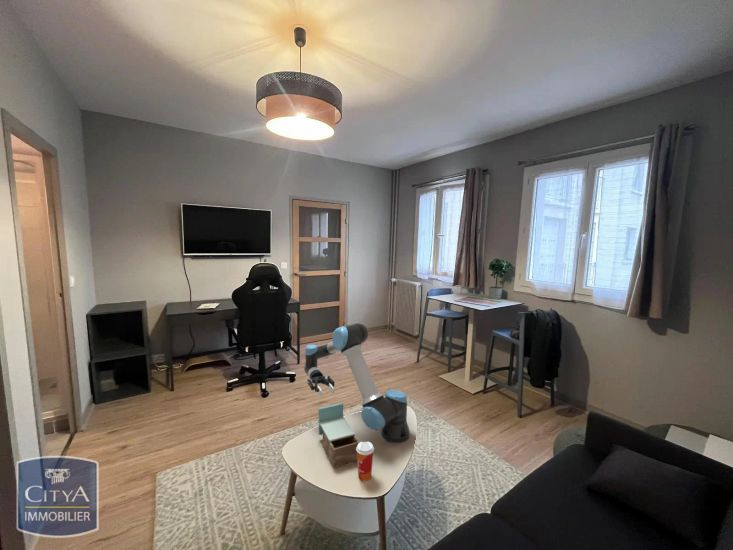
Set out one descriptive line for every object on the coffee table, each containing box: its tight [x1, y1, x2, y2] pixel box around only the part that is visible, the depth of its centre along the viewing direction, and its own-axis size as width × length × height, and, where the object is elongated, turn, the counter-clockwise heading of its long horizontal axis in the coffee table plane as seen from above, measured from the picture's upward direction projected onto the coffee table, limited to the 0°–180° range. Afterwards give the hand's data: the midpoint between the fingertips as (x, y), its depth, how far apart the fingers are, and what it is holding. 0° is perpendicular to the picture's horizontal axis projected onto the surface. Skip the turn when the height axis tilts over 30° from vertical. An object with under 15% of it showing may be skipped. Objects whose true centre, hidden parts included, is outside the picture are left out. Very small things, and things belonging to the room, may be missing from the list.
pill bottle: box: [356, 441, 375, 482], centre depth 132 cm, size 8×8×14 cm
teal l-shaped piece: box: [318, 402, 356, 442], centre depth 152 cm, size 18×13×14 cm
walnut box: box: [322, 431, 361, 469], centre depth 146 cm, size 16×13×9 cm
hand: (327, 391), depth 164 cm, fingers open, 6 cm apart
